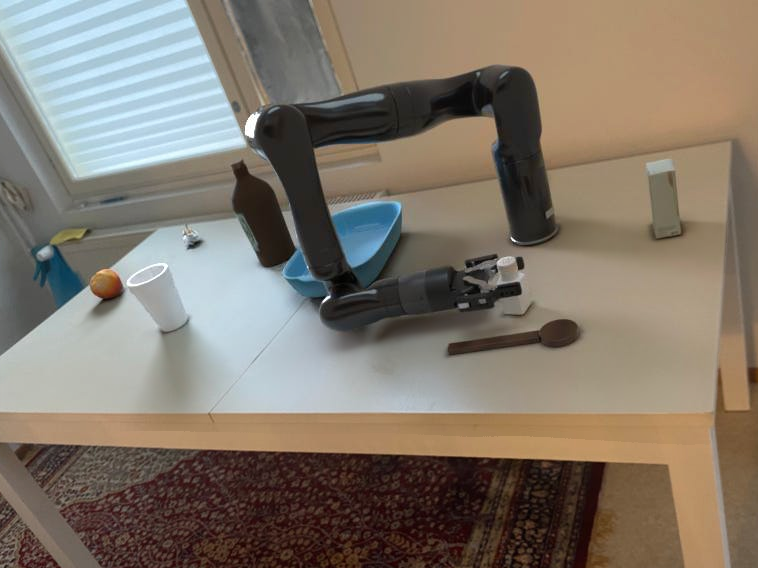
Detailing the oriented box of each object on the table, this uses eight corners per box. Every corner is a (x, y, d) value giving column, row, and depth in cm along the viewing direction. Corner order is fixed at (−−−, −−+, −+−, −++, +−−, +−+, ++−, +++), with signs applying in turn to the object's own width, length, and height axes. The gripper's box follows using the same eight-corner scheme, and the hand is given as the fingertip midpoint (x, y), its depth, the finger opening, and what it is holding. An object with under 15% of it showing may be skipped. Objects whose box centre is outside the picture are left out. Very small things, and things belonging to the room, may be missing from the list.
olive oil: (292, 242, 179) (252, 148, 166) (303, 254, 170) (262, 156, 157) (254, 259, 177) (211, 166, 164) (263, 272, 168) (218, 174, 155)
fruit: (134, 278, 188) (111, 263, 182) (125, 304, 186) (101, 291, 179) (114, 279, 192) (90, 265, 186) (105, 305, 190) (80, 292, 183)
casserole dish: (334, 234, 174) (324, 208, 170) (418, 219, 166) (410, 191, 162) (280, 316, 146) (267, 286, 142) (378, 302, 138) (367, 270, 134)
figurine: (192, 247, 199) (182, 228, 196) (182, 247, 202) (172, 228, 199) (204, 238, 203) (195, 219, 199) (194, 238, 205) (185, 220, 202)
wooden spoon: (447, 362, 114) (445, 356, 113) (451, 341, 118) (449, 335, 118) (579, 344, 107) (578, 337, 106) (578, 322, 112) (577, 316, 111)
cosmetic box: (681, 235, 124) (676, 170, 117) (655, 239, 125) (648, 175, 119) (677, 219, 129) (671, 156, 122) (652, 224, 130) (645, 161, 124)
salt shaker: (523, 316, 118) (511, 267, 113) (502, 315, 120) (489, 267, 115) (533, 303, 120) (521, 254, 115) (512, 302, 123) (500, 254, 118)
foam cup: (158, 340, 154) (129, 290, 147) (152, 326, 162) (123, 278, 155) (198, 320, 156) (171, 270, 149) (190, 307, 164) (163, 259, 157)
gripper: (416, 294, 114) (515, 276, 109) (429, 252, 125) (520, 235, 120) (429, 331, 118) (525, 316, 113) (440, 288, 129) (528, 273, 124)
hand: (522, 274), depth 116 cm, fingers open, 8 cm apart
